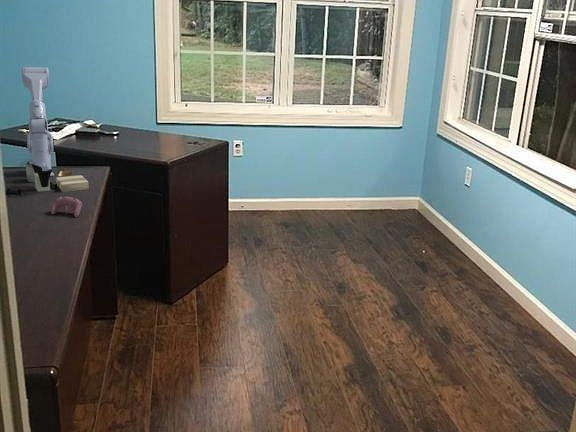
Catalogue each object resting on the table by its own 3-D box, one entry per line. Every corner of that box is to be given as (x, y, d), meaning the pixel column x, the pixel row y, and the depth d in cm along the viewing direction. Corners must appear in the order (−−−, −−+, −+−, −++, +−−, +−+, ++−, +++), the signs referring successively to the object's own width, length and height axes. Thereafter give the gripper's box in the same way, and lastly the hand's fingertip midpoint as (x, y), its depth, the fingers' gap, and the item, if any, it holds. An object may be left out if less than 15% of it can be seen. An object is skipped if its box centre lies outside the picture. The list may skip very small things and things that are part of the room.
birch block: (56, 184, 241) (56, 177, 240) (82, 182, 246) (81, 175, 245) (62, 192, 233) (62, 184, 232) (88, 189, 238) (88, 182, 237)
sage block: (35, 188, 235) (34, 173, 233) (47, 187, 238) (46, 172, 236) (37, 191, 232) (36, 176, 230) (50, 190, 234) (49, 175, 232)
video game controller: (81, 218, 213) (84, 199, 214) (76, 216, 208) (79, 197, 209) (54, 215, 214) (57, 196, 214) (49, 214, 209) (52, 194, 210)
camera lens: (31, 177, 247) (29, 159, 244) (46, 179, 247) (45, 160, 244) (24, 182, 241) (22, 163, 238) (39, 183, 241) (38, 164, 238)
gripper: (25, 146, 233) (27, 179, 237) (32, 155, 222) (35, 190, 226) (44, 145, 237) (46, 178, 241) (52, 154, 225) (55, 188, 230)
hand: (42, 184), depth 234 cm, fingers open, 7 cm apart
